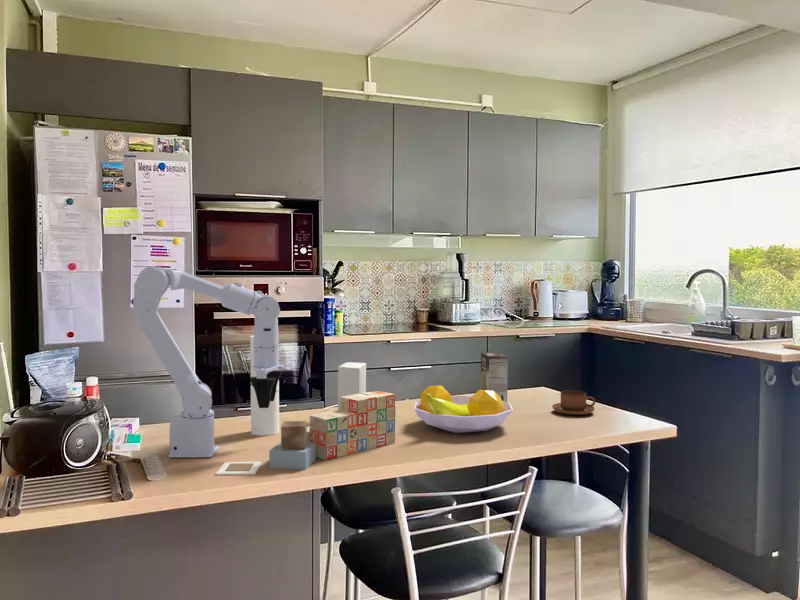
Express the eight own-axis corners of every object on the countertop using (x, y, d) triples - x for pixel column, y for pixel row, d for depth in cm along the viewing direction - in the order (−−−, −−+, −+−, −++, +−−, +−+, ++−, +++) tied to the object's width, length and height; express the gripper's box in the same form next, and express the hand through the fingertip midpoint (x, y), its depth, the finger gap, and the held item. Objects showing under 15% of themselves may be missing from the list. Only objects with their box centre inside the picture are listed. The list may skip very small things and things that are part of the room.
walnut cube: (281, 449, 139) (281, 426, 139) (283, 443, 144) (283, 421, 144) (304, 449, 139) (304, 426, 139) (306, 443, 144) (306, 420, 144)
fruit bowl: (468, 411, 193) (468, 374, 193) (533, 431, 170) (534, 388, 170) (388, 424, 178) (388, 383, 177) (448, 447, 155) (448, 399, 155)
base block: (269, 469, 139) (269, 450, 138) (281, 458, 146) (281, 440, 146) (305, 471, 137) (305, 452, 137) (316, 460, 145) (316, 442, 145)
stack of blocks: (326, 461, 144) (325, 406, 143) (309, 455, 148) (308, 401, 148) (395, 443, 159) (395, 393, 158) (378, 438, 163) (378, 389, 162)
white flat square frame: (215, 474, 133) (215, 473, 133) (225, 463, 141) (225, 461, 141) (255, 474, 134) (255, 472, 134) (262, 463, 142) (262, 461, 142)
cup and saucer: (586, 408, 198) (586, 388, 198) (600, 417, 186) (600, 396, 186) (547, 409, 198) (547, 389, 198) (558, 418, 186) (558, 396, 186)
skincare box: (345, 415, 188) (345, 361, 187) (367, 416, 187) (367, 362, 186) (336, 422, 180) (336, 366, 179) (359, 423, 178) (359, 366, 178)
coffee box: (480, 403, 206) (480, 352, 205) (499, 402, 206) (500, 352, 206) (487, 409, 197) (487, 356, 196) (507, 408, 197) (508, 355, 197)
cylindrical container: (265, 427, 173) (265, 334, 172) (285, 431, 169) (284, 335, 168) (245, 432, 168) (244, 336, 166) (264, 437, 164) (263, 338, 162)
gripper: (278, 350, 145) (279, 410, 146) (287, 343, 160) (288, 398, 160) (246, 350, 145) (247, 411, 146) (258, 343, 160) (259, 398, 160)
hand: (266, 404), depth 153 cm, fingers open, 7 cm apart
